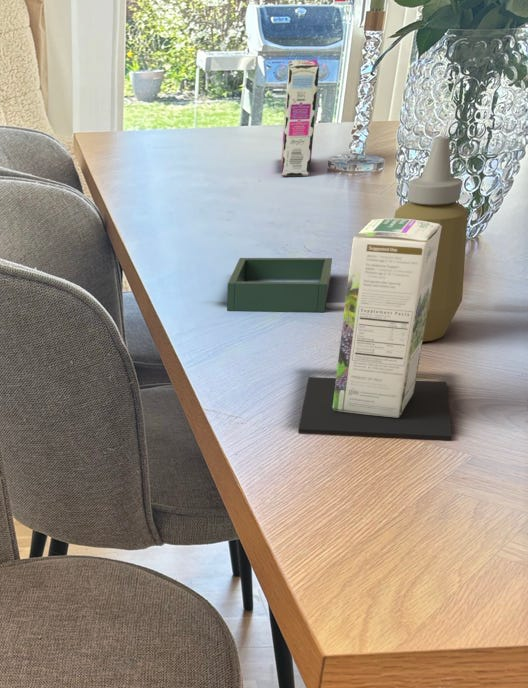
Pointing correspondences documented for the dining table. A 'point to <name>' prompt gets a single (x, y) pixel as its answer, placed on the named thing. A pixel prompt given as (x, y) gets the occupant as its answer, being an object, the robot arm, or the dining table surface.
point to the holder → (279, 285)
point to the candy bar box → (299, 117)
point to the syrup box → (385, 315)
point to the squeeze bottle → (440, 207)
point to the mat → (415, 421)
